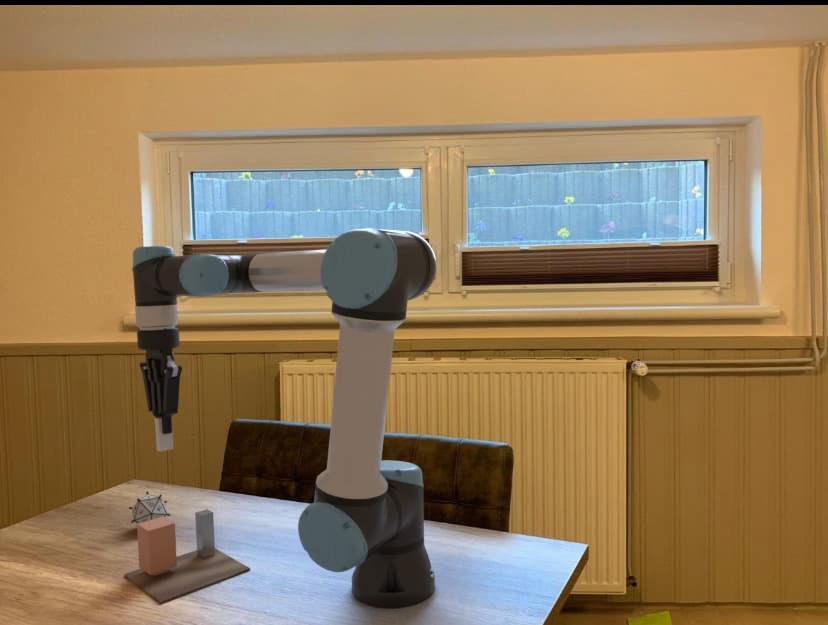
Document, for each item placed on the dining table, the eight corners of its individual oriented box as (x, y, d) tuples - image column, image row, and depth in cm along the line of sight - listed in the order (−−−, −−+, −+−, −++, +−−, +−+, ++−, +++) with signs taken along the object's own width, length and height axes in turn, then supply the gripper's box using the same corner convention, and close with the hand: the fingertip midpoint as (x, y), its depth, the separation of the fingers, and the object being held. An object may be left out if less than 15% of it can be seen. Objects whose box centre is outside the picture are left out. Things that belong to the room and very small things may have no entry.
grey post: (215, 555, 138) (213, 512, 138) (203, 559, 137) (201, 515, 136) (209, 551, 140) (206, 509, 140) (197, 555, 138) (195, 512, 138)
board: (250, 570, 132) (250, 568, 132) (160, 604, 119) (160, 601, 119) (210, 547, 143) (210, 545, 143) (124, 576, 131) (124, 574, 131)
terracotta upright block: (176, 566, 131) (174, 523, 131) (150, 575, 128) (148, 530, 127) (165, 558, 135) (163, 516, 134) (139, 567, 131) (136, 523, 131)
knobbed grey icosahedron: (160, 542, 156) (184, 508, 155) (129, 542, 149) (154, 506, 148) (145, 515, 161) (168, 482, 160) (113, 514, 154) (138, 479, 153)
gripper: (192, 327, 127) (199, 450, 128) (161, 325, 136) (168, 440, 138) (154, 330, 122) (161, 459, 123) (124, 328, 131) (131, 448, 132)
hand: (165, 449), depth 130 cm, fingers closed
